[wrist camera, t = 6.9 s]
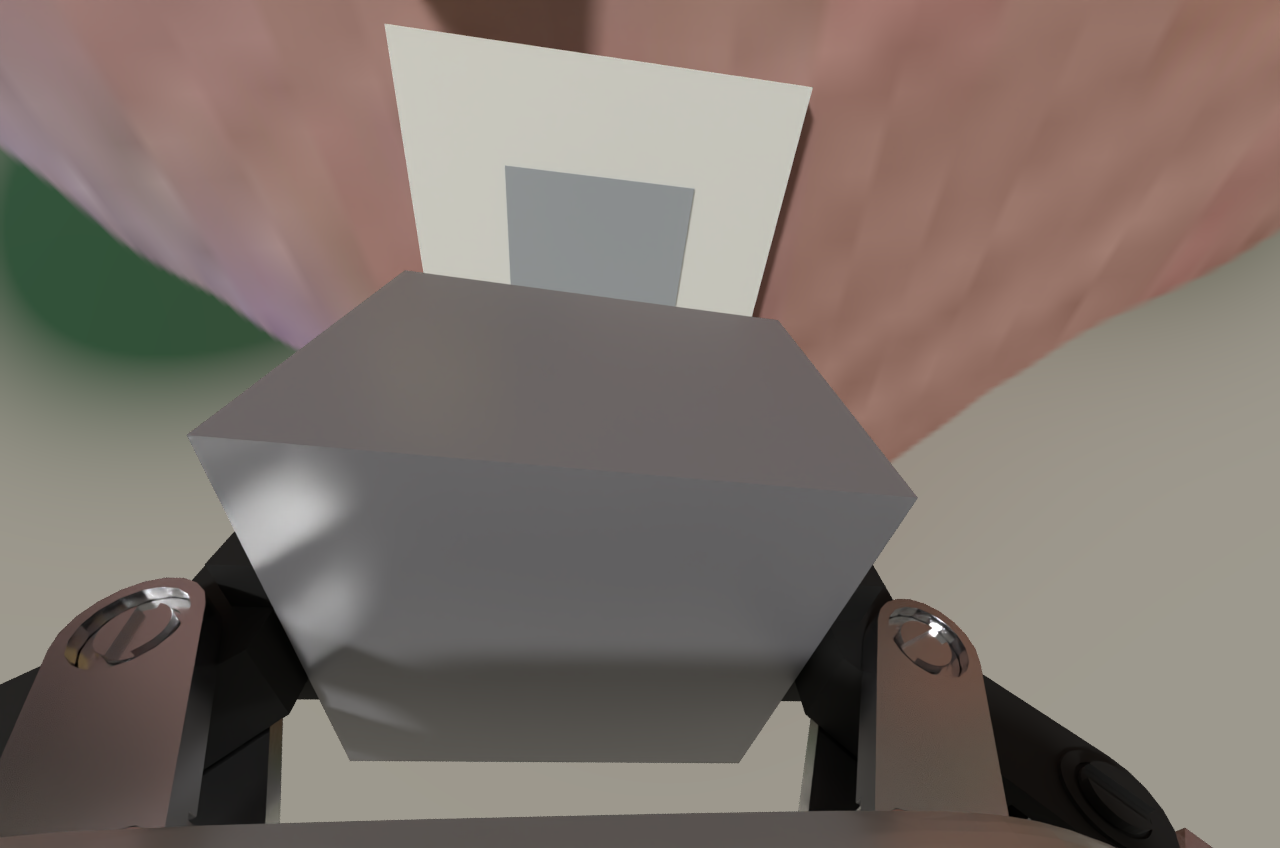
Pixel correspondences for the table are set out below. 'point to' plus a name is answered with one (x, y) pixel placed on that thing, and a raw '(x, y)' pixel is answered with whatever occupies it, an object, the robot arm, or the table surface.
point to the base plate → (592, 169)
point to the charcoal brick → (550, 521)
